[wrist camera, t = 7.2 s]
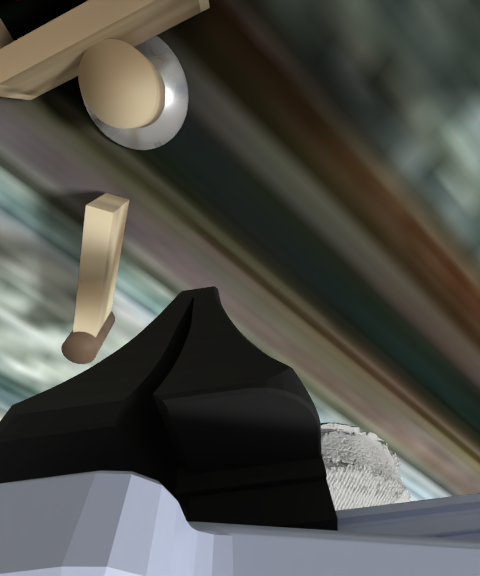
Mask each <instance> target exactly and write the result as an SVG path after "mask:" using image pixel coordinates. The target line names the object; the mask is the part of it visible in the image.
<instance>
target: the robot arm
mask: <svg viewBox="0 0 480 576" xmlns="http://www.w3.org/2000/svg"><path fill="white" fill-rule="evenodd" d="M326 478H327V473H326V468H325V465H324V462H323V458H322V452H321V425H320V420H319V416H318V413H317V410H316V408H315V406H314V403H313V401H312V399H311V397H310V395H309V394H308V392H307V390H306V388H305V387H304V385H303V384H302V382H301V380H300V379H299V377H298V376H297V374H296V373H295V372H294V370H293V369H292V368H291V367H289V366H287V365H285V364H283V363H281V362H279V361H277V360H275V359H273V358H271V357H269V356H268V355H266V354H265V353H263V352H262V351H261V350H260V349H258V348H257V347H256V346H255V345H253V344H252V343H251V342H250V341H249V340H248V339H246V338H245V337H244V336H243V335H242V333H241V332H240V331H239V330H238V329H237V328H236V327H235V325H234V324H233V323H232V321H231V320H230V319H229V317H228V316H227V314H226V312H225V311H224V309H223V307H222V305H221V302H220V297H219V292H218V289H217V288H216V287H207V288H200V289H193V290H186V291H182V292H181V293H180V294H179V295H178V296H177V297H176V298H175V299H174V300H173V301H172V302H171V303H170V304H169V305H168V306H167V307H166V308H165V309H164V310H163V311H162V312H161V314H160V315H159V316H158V317H157V318H156V319H154V320H153V321H152V322H151V323H150V324H149V325H148V326H147V327H146V328H145V329H144V330H143V331H142V332H140V333H139V334H138V335H137V336H136V337H134V338H133V339H132V340H131V341H129V342H128V343H127V344H125V345H124V346H123V347H121V348H120V349H119V350H117V351H116V352H114V353H113V354H111V355H110V356H108V357H107V358H105V359H103V360H102V361H100V362H99V363H97V364H96V365H94V366H93V367H91V368H89V369H87V370H86V371H84V372H82V373H80V374H78V375H77V376H75V377H73V378H71V379H69V380H67V381H65V382H63V383H61V384H59V385H57V386H55V387H53V388H51V389H48V390H46V391H44V392H42V393H39V394H37V395H35V396H33V397H30V398H28V399H26V400H24V401H21V402H19V403H16V404H14V405H12V406H11V408H10V409H9V410H8V412H7V413H6V414H5V416H4V417H3V418H2V420H1V421H0V576H480V493H477V494H469V495H460V496H452V497H444V498H436V499H428V500H419V501H411V502H403V503H395V504H387V505H378V506H370V507H362V508H354V509H346V510H337V511H335V508H334V504H333V501H332V497H331V493H330V490H329V486H328V483H327V479H326Z"/></svg>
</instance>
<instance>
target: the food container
mask: <svg viewBox="0 0 480 576" xmlns="http://www.w3.org/2000/svg"><path fill="white" fill-rule="evenodd" d="M376 440H378V441H380V440H382V439H380V438H378V437H377V435H375V434H373V433H371V432H369V433H368V434H367V435H366V434H365V432H360V431H359V427H350V426H348V425H341V424H336V423H334V424H332V423H328V424H324V425H321V452H322V458H323V462H324V465H325V468H326V473H327V478H326V479H327V483H328V486H329V490H330V493H331V497H332V501H333V504H334V508H335V511H337V510H346V509H354V508H362V507H370V506H378V505H387V504H395V503H403V502H410V501H411V500H410V498H411V497H410V494H409V492H408V490H407V488H406V487H404V486H403V483H402V481H401V479H400V477H401V475H399V474H398V471H397V470H398V467H400V465H401V462H400V461H399V458H397V456H396V453H394V454H393V453H390V452H389V451H388V449H387V447H388V446H385V445H384V444H381V443H380V442H378V441H376ZM382 441H384V440H382ZM386 445H387V443H386Z"/></svg>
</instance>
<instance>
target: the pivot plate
mask: <svg viewBox="0 0 480 576" xmlns="http://www.w3.org/2000/svg"><path fill="white" fill-rule="evenodd" d="M134 48H136V49H137V50H138V51H139V52H140V53H141V54H143V55H144V56H145V57H146V58H147V59H148V60H149V61H151V62H152V63H153V64H154V66H155V67H156V68H157V69H158V71H159V73H160V74H161V76H162V79H163V81H164V85H165V90H166V102H165V107H164V110H163V112H162V114H161V116H160V117H159V118H158V119H157V121H155V122H154V123H153V124H151V125H149V126H147V127H143V128H127V129H123V128H116V127H113V126H110V125H108V124H106V123H104V122H103V121H101V120H100V119H99V118H98V117H96V116H95V115H94V114H93V113H92V111H91V110H90V109H89V107H88V106H87V104H86V103H85V100H84V98H83V96H82V98H83V101H84V104H85V106H86V109H87V111H88V113H89V115H90V117H91V118H92V120H93V121H94V123H95V124H96V125H97V127H98V128H99V129H100V130H101V131H102V132H103V133H104V134H105V135H106V136H107V137H109V138H110V139H111V140H113V141H115V142H116V143H118V144H120V145H122V146H125V147H128V148H131V149H137V150H148V149H153V148H157V147H159V146H162V145H164V144H165V143H167V142H169V141H170V140H171V139H172V138H173V137H174V136H175V135H176V134H177V133H178V132H179V130H180V128H181V127H182V125H183V123H184V120H185V118H186V114H187V110H188V101H189V95H188V85H187V80H186V77H185V74H184V71H183V69H182V66H181V64H180V62H179V60H178V59H177V57H176V56H175V54H174V53H173V51H172V50H171V49H170V48H169V46H168V45H167V44H166V43H165V42H164V41H163V40H161V39H160V38H159V37H158V36H154V37H152V38H150V39H148V40H146V41H144V42H142V43H140V44H138V45H137V46H135V47H134ZM81 94H82V93H81Z"/></svg>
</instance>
